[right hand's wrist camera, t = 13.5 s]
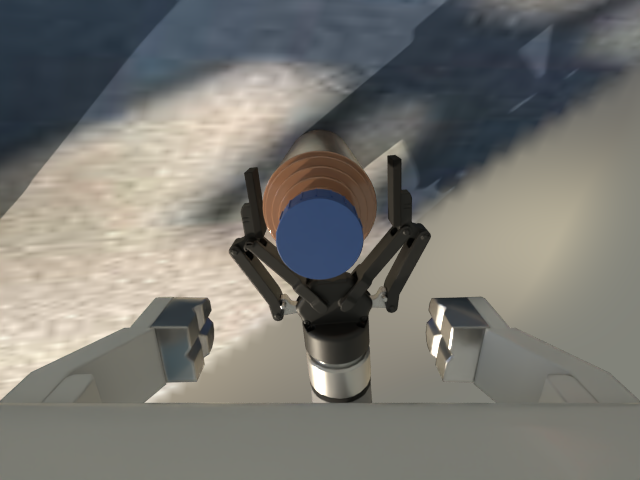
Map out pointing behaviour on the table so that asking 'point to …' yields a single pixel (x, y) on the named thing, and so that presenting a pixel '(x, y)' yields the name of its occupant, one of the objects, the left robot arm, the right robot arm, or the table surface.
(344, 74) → the table surface
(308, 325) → the left robot arm
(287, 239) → the cap
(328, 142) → the bottle
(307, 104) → the table surface
